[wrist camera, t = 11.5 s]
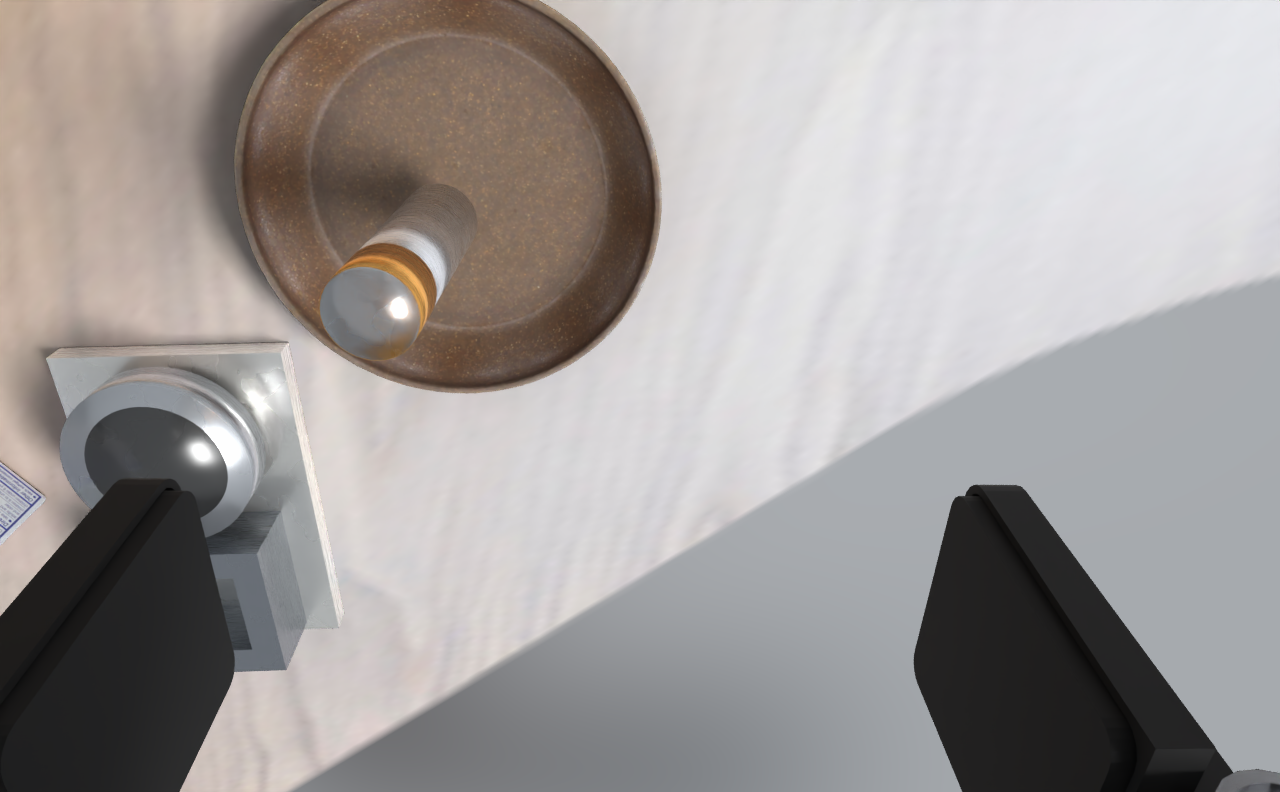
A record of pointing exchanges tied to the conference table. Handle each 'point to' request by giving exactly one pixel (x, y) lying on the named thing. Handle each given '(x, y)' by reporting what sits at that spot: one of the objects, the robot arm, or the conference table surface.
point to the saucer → (455, 176)
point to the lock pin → (398, 274)
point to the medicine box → (15, 501)
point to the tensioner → (214, 472)
